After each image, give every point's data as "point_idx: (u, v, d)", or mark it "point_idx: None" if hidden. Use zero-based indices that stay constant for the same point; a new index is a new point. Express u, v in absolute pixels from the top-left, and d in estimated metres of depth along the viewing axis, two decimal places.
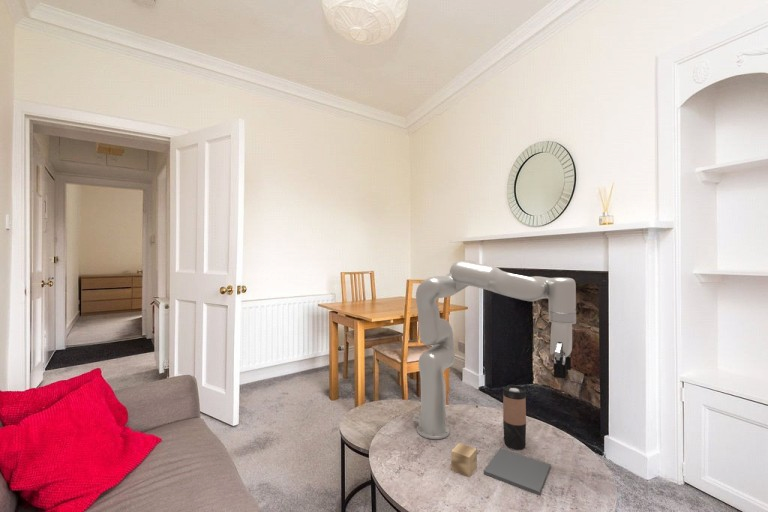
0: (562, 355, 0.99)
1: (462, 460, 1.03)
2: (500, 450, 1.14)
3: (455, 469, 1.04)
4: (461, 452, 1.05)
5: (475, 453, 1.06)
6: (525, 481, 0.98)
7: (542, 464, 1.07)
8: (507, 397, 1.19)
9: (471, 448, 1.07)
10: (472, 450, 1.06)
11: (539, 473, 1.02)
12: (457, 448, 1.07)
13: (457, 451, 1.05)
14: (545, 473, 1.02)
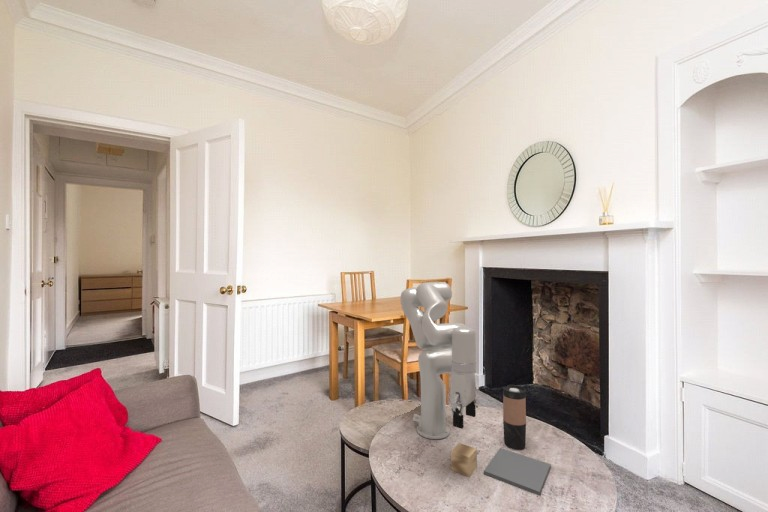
0: (460, 405, 1.02)
1: (462, 460, 1.03)
2: (500, 450, 1.14)
3: (455, 469, 1.04)
4: (461, 452, 1.05)
5: (475, 453, 1.06)
6: (525, 481, 0.98)
7: (542, 464, 1.07)
8: (507, 397, 1.19)
9: (471, 448, 1.07)
10: (472, 450, 1.06)
11: (539, 473, 1.02)
12: (457, 448, 1.07)
13: (457, 451, 1.05)
14: (545, 473, 1.02)
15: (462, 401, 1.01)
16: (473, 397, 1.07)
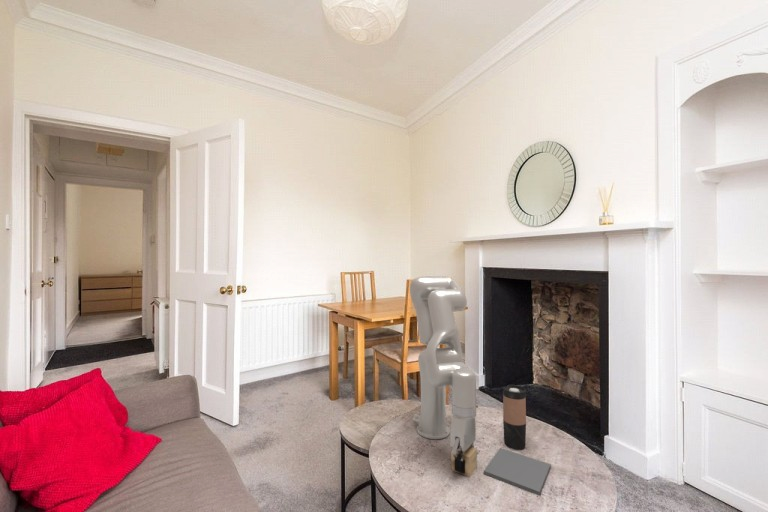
0: (461, 451, 1.03)
1: None
2: (500, 450, 1.14)
3: None
4: (461, 452, 1.05)
5: (475, 453, 1.06)
6: (525, 481, 0.98)
7: (542, 464, 1.07)
8: (507, 397, 1.19)
9: (471, 448, 1.07)
10: (472, 450, 1.06)
11: (539, 473, 1.02)
12: None
13: None
14: (545, 473, 1.02)
15: (462, 448, 1.01)
16: (473, 439, 1.07)
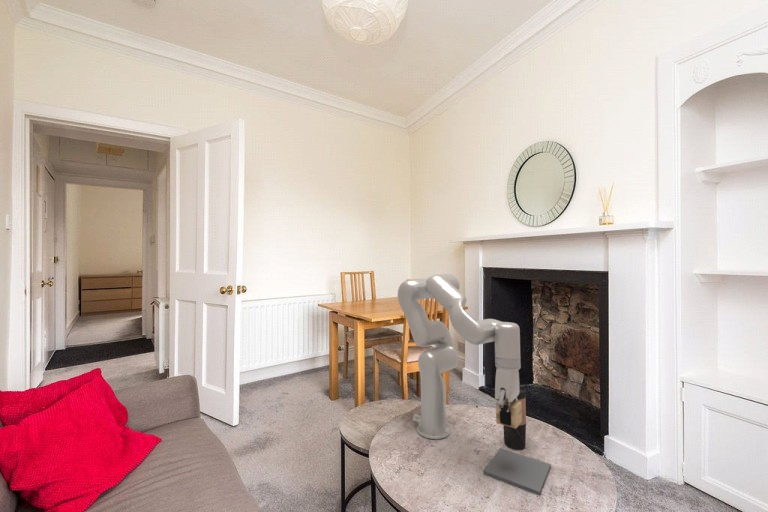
0: (506, 402, 1.02)
1: None
2: (500, 450, 1.14)
3: None
4: (506, 404, 1.04)
5: (520, 406, 1.05)
6: (525, 481, 0.98)
7: (542, 464, 1.07)
8: None
9: (516, 401, 1.06)
10: (517, 403, 1.05)
11: (539, 473, 1.02)
12: None
13: None
14: (545, 473, 1.02)
15: (508, 399, 1.01)
16: (517, 393, 1.06)
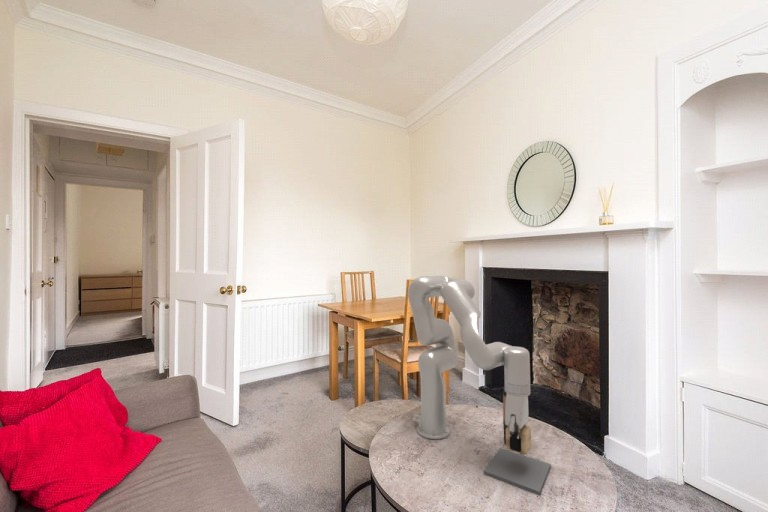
0: None
1: None
2: (500, 450, 1.14)
3: None
4: (516, 430, 1.04)
5: (530, 431, 1.05)
6: (525, 481, 0.98)
7: (542, 464, 1.07)
8: None
9: (525, 426, 1.06)
10: (527, 428, 1.05)
11: (539, 473, 1.02)
12: None
13: None
14: (545, 473, 1.02)
15: (519, 426, 1.00)
16: (526, 418, 1.06)
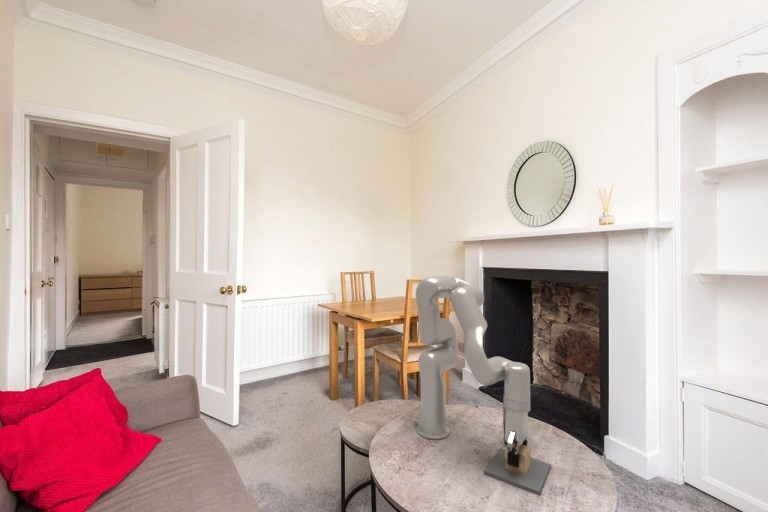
0: (515, 444, 1.01)
1: None
2: (500, 450, 1.14)
3: (509, 467, 1.03)
4: None
5: (529, 451, 1.05)
6: (525, 481, 0.98)
7: (542, 464, 1.07)
8: None
9: (524, 446, 1.06)
10: (526, 448, 1.05)
11: (539, 473, 1.02)
12: None
13: None
14: (545, 473, 1.02)
15: (518, 440, 1.00)
16: (526, 434, 1.06)
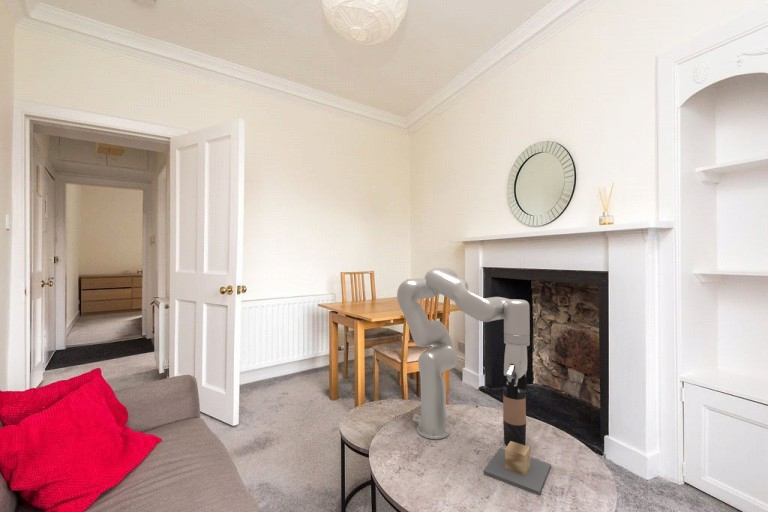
0: (514, 377, 1.01)
1: (517, 458, 1.02)
2: (500, 450, 1.14)
3: (509, 467, 1.03)
4: (516, 450, 1.04)
5: (529, 451, 1.05)
6: (525, 481, 0.98)
7: (542, 464, 1.07)
8: (507, 397, 1.18)
9: (524, 446, 1.06)
10: (526, 448, 1.05)
11: (539, 473, 1.02)
12: (510, 446, 1.06)
13: (511, 449, 1.04)
14: (545, 473, 1.02)
15: (517, 372, 1.01)
16: (525, 369, 1.06)
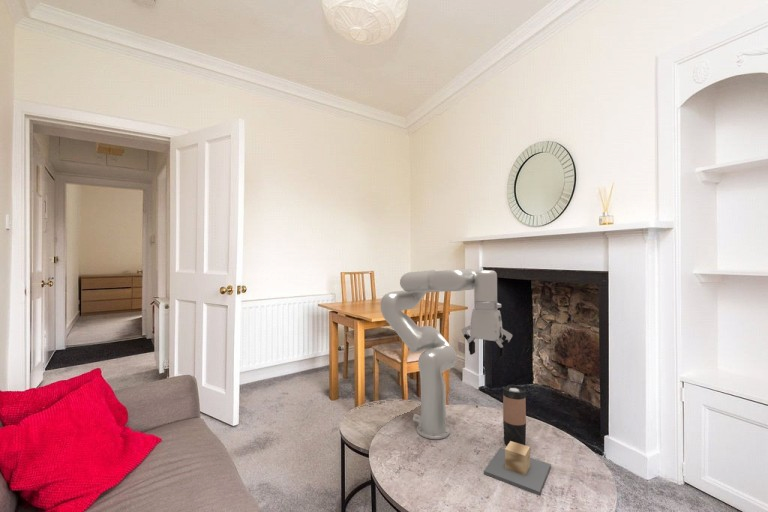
0: None
1: (517, 458, 1.02)
2: (500, 450, 1.14)
3: (509, 467, 1.03)
4: (516, 450, 1.04)
5: (529, 451, 1.05)
6: (525, 481, 0.98)
7: (542, 464, 1.07)
8: (506, 397, 1.19)
9: (524, 446, 1.06)
10: (526, 448, 1.05)
11: (539, 473, 1.02)
12: (510, 446, 1.06)
13: (511, 449, 1.04)
14: (545, 473, 1.02)
15: (470, 331, 1.16)
16: (490, 336, 1.12)
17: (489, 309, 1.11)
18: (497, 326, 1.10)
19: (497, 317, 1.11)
